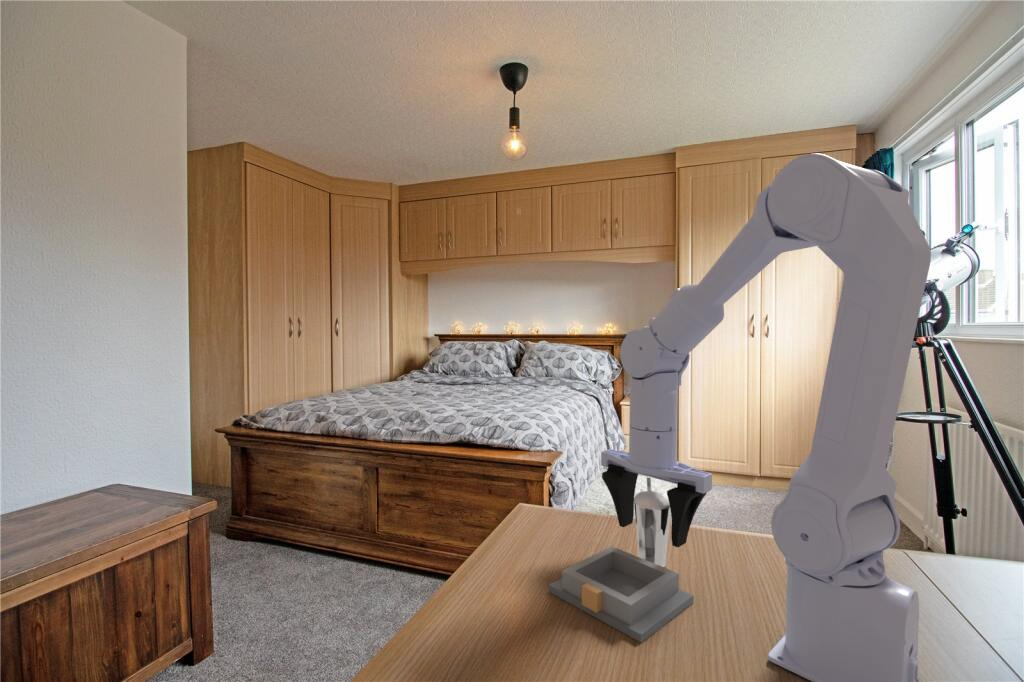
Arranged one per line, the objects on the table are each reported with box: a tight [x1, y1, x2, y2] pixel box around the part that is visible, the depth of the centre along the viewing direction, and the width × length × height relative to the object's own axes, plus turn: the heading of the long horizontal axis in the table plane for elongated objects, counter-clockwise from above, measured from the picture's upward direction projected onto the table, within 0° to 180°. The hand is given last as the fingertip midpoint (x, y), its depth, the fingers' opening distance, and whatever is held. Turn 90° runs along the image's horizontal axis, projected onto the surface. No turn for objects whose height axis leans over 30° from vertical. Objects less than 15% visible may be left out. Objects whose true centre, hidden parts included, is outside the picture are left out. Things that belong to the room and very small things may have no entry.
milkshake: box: [634, 477, 671, 568], centre depth 63 cm, size 5×5×10 cm
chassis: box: [548, 545, 695, 644], centre depth 55 cm, size 12×10×3 cm
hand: (651, 533), depth 63 cm, fingers open, 7 cm apart
